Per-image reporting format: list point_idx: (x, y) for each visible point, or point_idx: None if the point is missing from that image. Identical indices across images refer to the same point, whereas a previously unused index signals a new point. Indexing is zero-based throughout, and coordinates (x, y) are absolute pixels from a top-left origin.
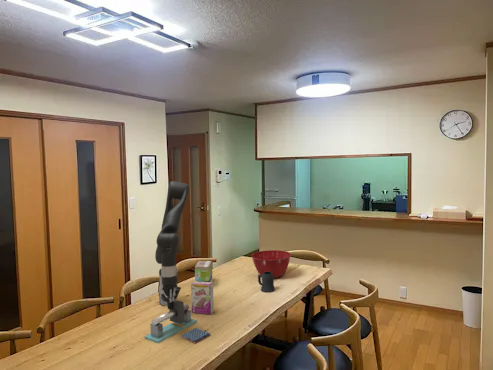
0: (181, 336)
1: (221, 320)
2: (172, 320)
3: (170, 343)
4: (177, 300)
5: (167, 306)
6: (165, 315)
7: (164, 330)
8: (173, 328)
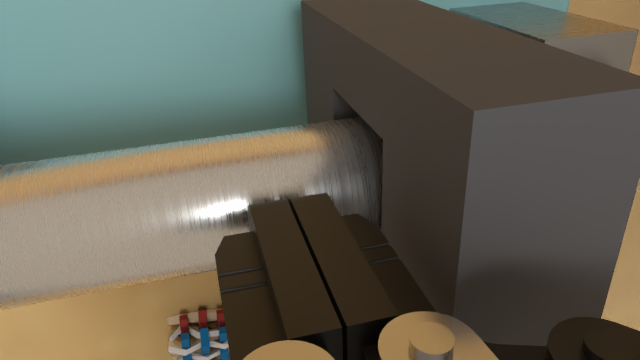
0: (180, 327)
1: (626, 285)
2: (307, 69)
3: (15, 343)
4: (603, 265)
5: (219, 276)
6: (61, 297)
7: (112, 86)
8: (237, 133)
